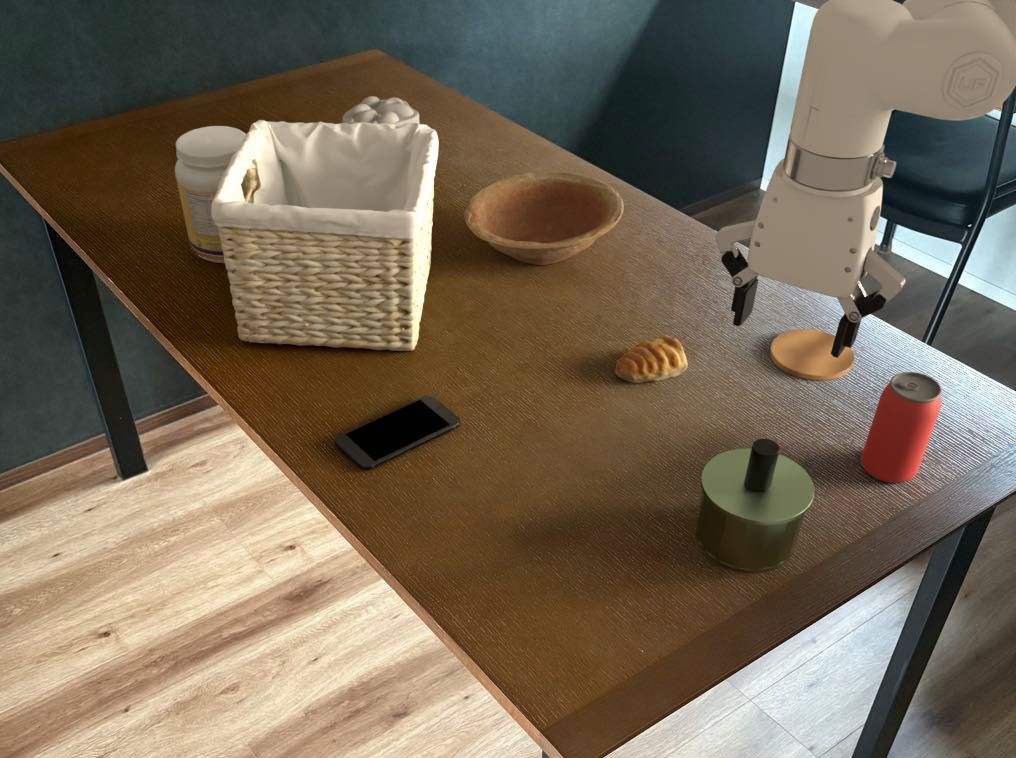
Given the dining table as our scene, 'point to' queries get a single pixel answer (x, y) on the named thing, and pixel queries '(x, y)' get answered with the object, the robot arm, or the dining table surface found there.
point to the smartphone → (396, 432)
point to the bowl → (543, 215)
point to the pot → (744, 540)
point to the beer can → (902, 427)
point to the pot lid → (757, 485)
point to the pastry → (652, 361)
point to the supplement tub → (204, 181)
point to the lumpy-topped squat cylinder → (382, 112)
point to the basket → (329, 232)
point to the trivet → (810, 355)
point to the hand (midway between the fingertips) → (789, 334)
